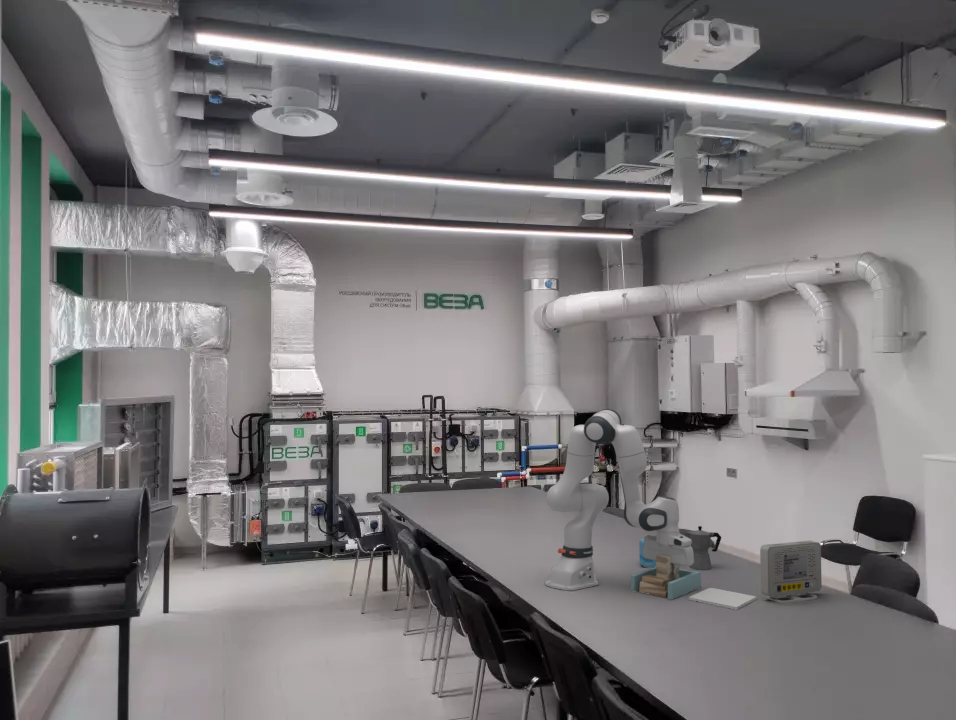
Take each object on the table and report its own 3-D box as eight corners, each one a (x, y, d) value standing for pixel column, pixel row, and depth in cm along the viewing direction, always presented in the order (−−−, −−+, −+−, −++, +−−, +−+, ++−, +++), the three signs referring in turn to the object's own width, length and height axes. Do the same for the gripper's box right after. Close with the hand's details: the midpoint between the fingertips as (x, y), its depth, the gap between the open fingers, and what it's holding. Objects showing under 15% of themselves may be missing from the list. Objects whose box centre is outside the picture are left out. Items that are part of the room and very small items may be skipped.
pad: (736, 610, 252) (736, 607, 252) (688, 599, 264) (688, 597, 265) (756, 599, 266) (756, 596, 266) (710, 590, 278) (710, 587, 278)
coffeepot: (684, 569, 311) (683, 527, 312) (685, 564, 320) (684, 523, 321) (721, 571, 307) (721, 529, 307) (721, 566, 316) (720, 525, 316)
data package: (643, 568, 313) (643, 540, 314) (639, 565, 317) (639, 538, 318) (669, 567, 315) (669, 539, 315) (665, 564, 319) (664, 537, 320)
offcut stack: (665, 598, 267) (665, 581, 267) (638, 592, 274) (638, 576, 275) (672, 595, 271) (671, 579, 271) (645, 589, 278) (645, 574, 278)
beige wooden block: (666, 592, 275) (665, 557, 275) (656, 590, 277) (656, 556, 278) (679, 586, 283) (679, 553, 283) (670, 584, 285) (669, 551, 286)
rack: (671, 600, 264) (671, 583, 265) (631, 591, 276) (630, 575, 276) (700, 587, 282) (700, 571, 282) (661, 579, 293) (661, 564, 294)
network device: (809, 591, 276) (808, 539, 277) (827, 597, 268) (826, 543, 269) (756, 598, 267) (755, 544, 268) (774, 604, 259) (773, 548, 260)
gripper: (639, 535, 286) (640, 570, 285) (688, 542, 272) (688, 579, 271) (647, 533, 290) (648, 567, 290) (695, 540, 276) (695, 576, 276)
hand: (668, 573), depth 280 cm, fingers closed on beige wooden block, 4 cm apart
